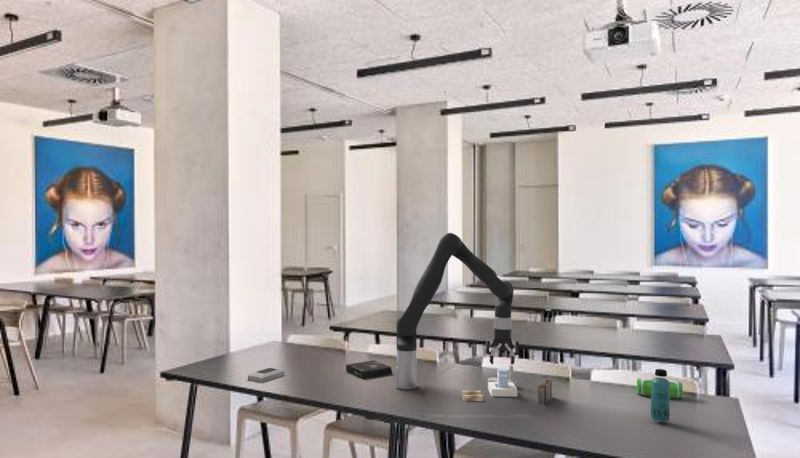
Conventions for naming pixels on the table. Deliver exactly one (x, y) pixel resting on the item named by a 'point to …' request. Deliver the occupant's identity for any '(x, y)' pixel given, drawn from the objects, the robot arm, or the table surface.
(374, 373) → the portable cd player
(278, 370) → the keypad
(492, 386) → the socket
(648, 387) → the speaker
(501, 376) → the plug
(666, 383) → the beverage bottle
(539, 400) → the marbled rust block
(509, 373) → the electronic device
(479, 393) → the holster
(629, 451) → the table surface
